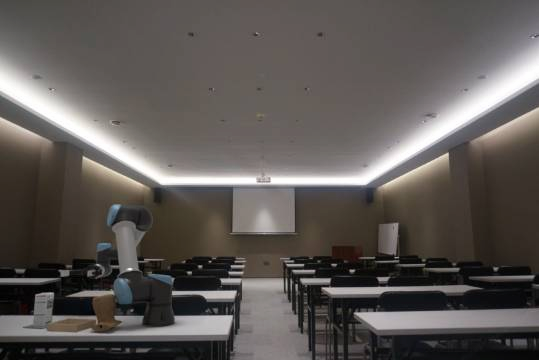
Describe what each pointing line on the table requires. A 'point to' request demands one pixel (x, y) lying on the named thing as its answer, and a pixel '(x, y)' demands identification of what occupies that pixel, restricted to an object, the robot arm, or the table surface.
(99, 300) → the stone cup
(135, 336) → the table surface
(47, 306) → the syrup box
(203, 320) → the table surface
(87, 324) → the mailer box
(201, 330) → the table surface
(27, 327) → the slate pad
